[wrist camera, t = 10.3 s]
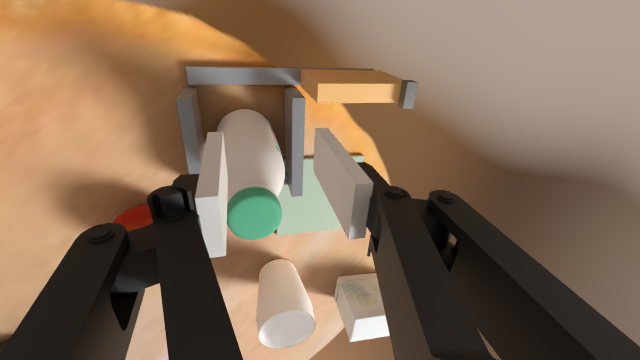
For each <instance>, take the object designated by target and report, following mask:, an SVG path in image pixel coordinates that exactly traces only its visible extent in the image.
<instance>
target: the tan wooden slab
mask: <svg viewBox="0 0 640 360" xmlns="http://www.w3.org/2000/svg"><path fill="white" fill-rule="evenodd" d="M417 85H418V82H416V81H413V80H403V79H401V78H398V77H396V76H393V75H390V74H388V73H385V72H383V71H380V70H378V71H377V70H317V69H301V83H300V86H301V87H302V88H303V89H304V90H305V91H306V92H307V93H308V94H309V95H310V96H311V97H312V98H313V99H314V100H315V101H316V103H374V102H375V103H376V102H377V103H378V102H398V106H399V107H401V108H403V109H413V104H414V99H415V95H416V90H417Z"/></svg>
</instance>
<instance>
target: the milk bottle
mask: <svg viewBox="0 0 640 360" xmlns="http://www.w3.org/2000/svg"><path fill="white" fill-rule="evenodd" d="M216 132H223V137H224V146H225V155H226V164H227V174H228V193H227V224H228V227H229V228H230V230H231V231H232V232H233V233H234V234H235V235H237V236H238V237H241V238H243V239H249V240H256V239H261V238H264V237H267V236H269V235H270V234H272V233H273V232H274V231H275V230H276V229H277V228H278V227H279V225H280V223H281V219H282V209H281V205H280V201H279V198H278V195H279V193H280V191H281V189H282V187H283V184H284V179H285V166H284V162H283V158H282V154H281V151H280V148H279V145H278V142H277V139H276V136H275V133H274V131H273V128H272V126H271V124H270V122H269V121H268V120H267V119H266V118H265V117H264V116H263V115H262V114H260V113H258V112H256V111H253V110H249V109H240V110H235V111H233V112H230V113H229V114H227V115H226V116H225V117H224V118H223V119H222V120H221V121H220V123H219V125H218V127H217V131H216Z"/></svg>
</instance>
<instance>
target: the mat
mask: <svg viewBox="0 0 640 360" xmlns="http://www.w3.org/2000/svg"><path fill="white" fill-rule="evenodd" d="M351 156H352V158H353V159H354V160H355V161H356V162H363V161H364V155H351ZM283 162H284V166H285V170H286V160H285V159H283ZM313 164H314V157H312V158H304V159H303V194H302V196H298V197H292V196H291V193H290V190H289V187H288V185H283V187H282V189H281V191H280V193H279V195H278V198H279V201H280V205H281V209H282V219H281V223H280V225H279V227H278V228H277V236H283V235H291V234H299V233H307V232H316V231H324V230H332V229H340V228H342V226H341V224H340V222H339V220H338V218H337V216H336V214H335V212H334V210H333V208H332V207H331V205H330V203H329V201H328V199H327V197H326V195H325V193H324V191H323V189H322V187H321V185H320V183H319V181H318V179H317V177H316V175H315V173H314V172H313Z"/></svg>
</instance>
